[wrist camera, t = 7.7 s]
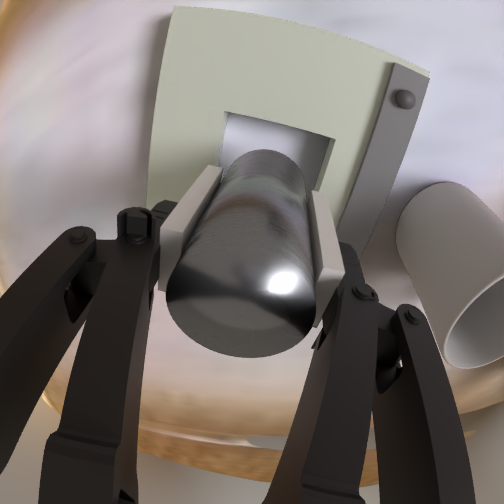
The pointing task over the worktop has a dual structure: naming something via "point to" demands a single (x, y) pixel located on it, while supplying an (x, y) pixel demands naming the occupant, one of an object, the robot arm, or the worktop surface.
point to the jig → (284, 106)
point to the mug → (456, 271)
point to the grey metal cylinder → (248, 263)
